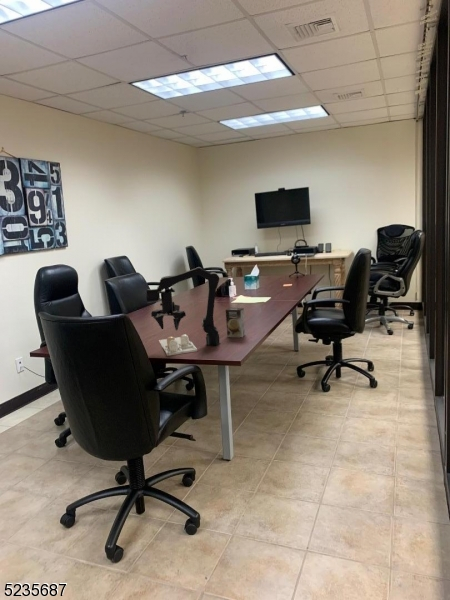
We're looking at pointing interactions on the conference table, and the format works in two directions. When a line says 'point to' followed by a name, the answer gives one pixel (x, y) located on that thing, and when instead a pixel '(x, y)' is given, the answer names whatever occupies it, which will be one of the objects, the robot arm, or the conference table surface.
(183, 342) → the cream egg back
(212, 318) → the robot arm
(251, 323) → the conference table surface
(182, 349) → the egg carton
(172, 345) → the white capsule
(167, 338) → the brown egg
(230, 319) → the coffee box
